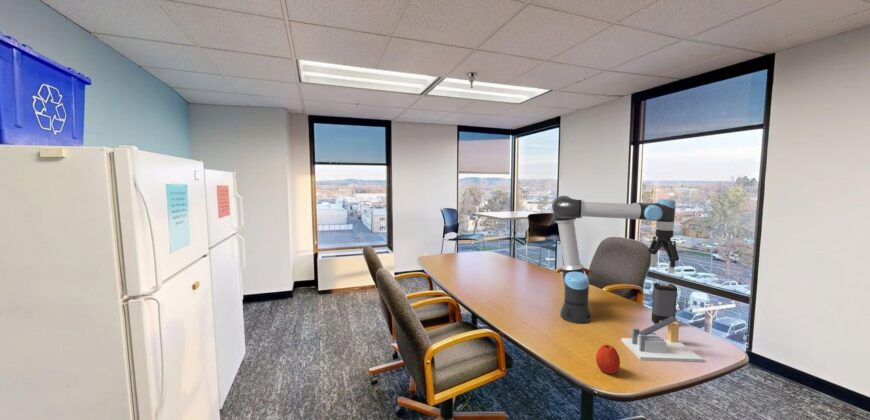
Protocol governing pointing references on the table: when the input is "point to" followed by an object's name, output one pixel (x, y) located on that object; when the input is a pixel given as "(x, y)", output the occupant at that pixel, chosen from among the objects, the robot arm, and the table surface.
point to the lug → (673, 332)
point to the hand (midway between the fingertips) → (661, 269)
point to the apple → (608, 359)
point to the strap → (657, 326)
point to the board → (668, 356)
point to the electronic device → (663, 302)
